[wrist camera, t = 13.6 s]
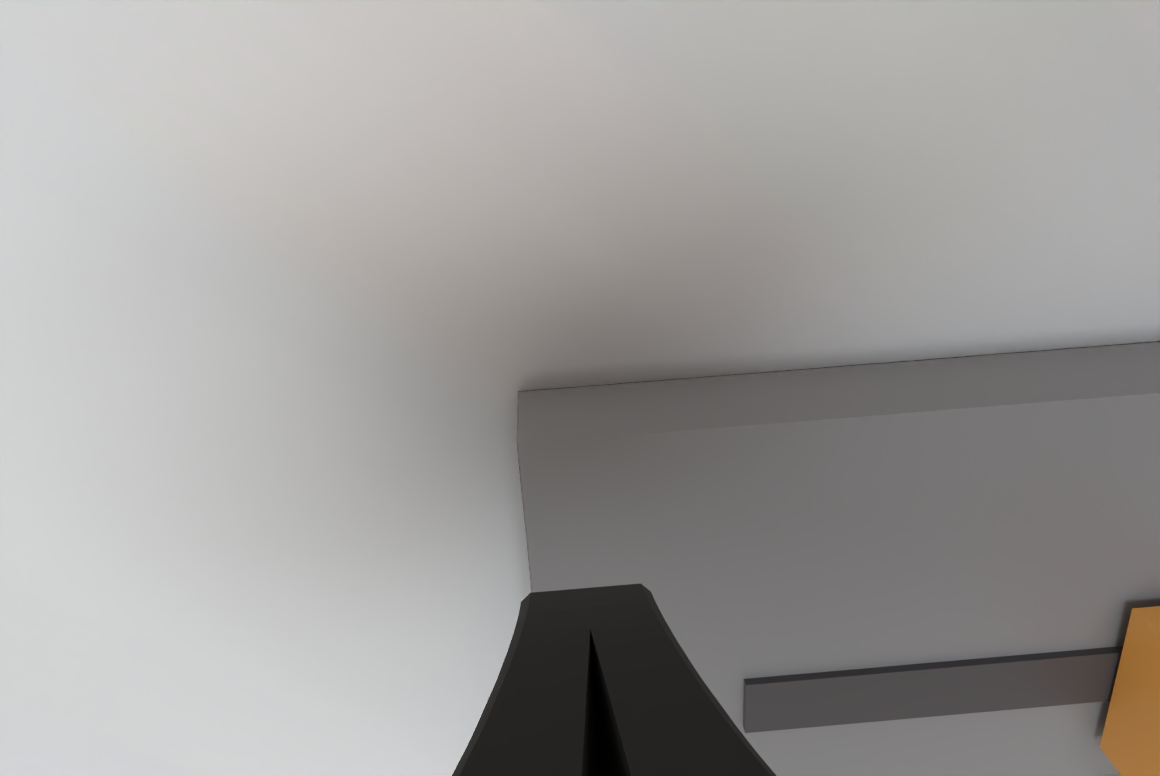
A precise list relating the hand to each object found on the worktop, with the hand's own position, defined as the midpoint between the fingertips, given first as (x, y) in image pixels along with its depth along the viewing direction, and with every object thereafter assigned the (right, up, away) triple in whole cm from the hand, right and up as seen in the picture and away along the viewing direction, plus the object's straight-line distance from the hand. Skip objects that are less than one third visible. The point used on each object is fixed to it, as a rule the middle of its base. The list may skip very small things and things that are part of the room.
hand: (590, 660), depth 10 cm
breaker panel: (+8, -3, +12) cm, 15 cm away
